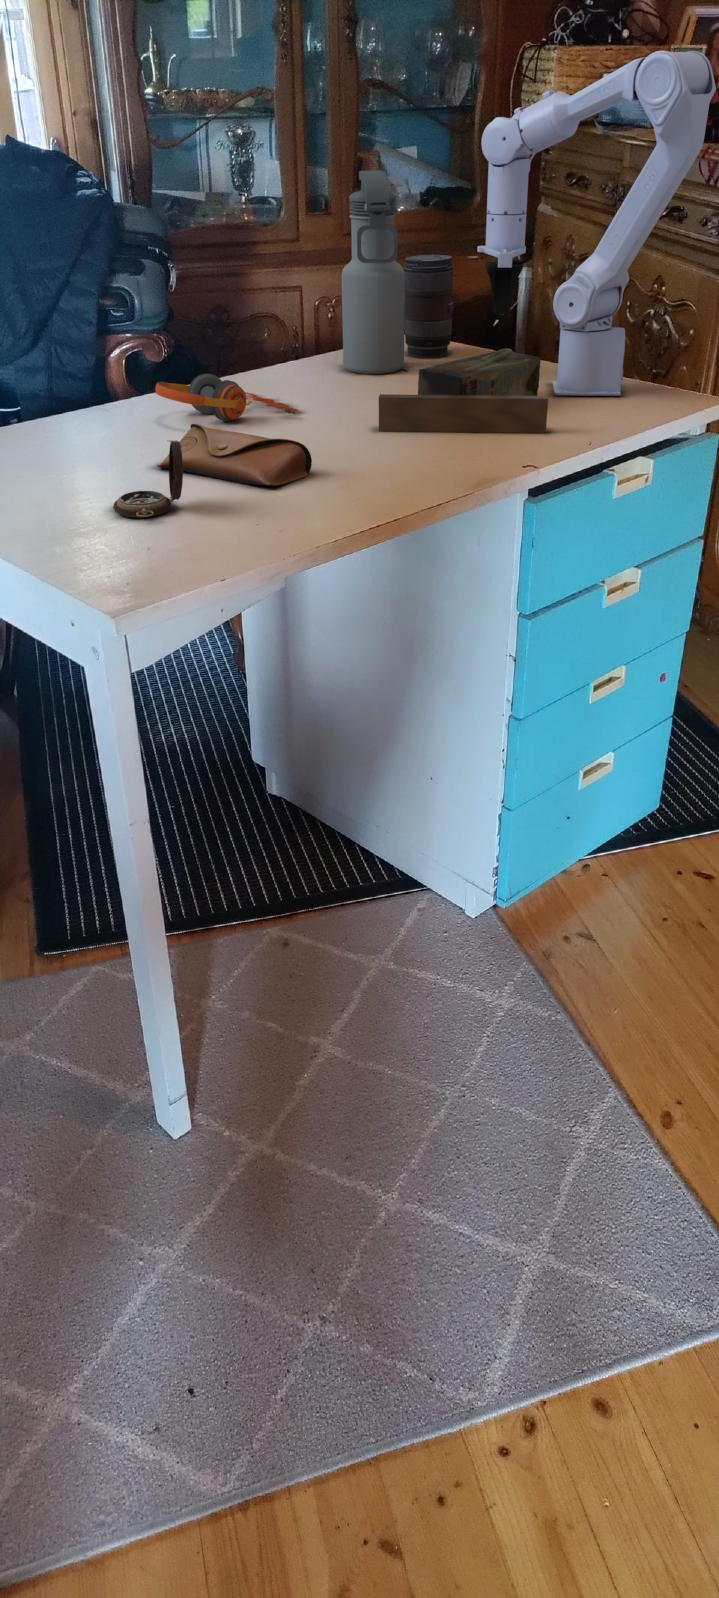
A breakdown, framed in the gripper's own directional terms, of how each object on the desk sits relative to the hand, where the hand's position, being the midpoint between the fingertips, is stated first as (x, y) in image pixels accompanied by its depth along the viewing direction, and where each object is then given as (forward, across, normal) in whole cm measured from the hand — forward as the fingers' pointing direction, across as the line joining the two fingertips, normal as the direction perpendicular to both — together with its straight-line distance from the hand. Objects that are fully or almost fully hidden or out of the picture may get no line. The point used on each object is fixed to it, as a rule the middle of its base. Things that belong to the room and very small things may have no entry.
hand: (501, 313), depth 179 cm
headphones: (+10, +25, -38) cm, 46 cm away
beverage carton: (+10, +19, -3) cm, 21 cm away
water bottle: (+10, -6, -20) cm, 23 cm away
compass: (+10, +68, -38) cm, 78 cm away
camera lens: (+10, -18, -12) cm, 24 cm away
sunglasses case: (+10, +52, -32) cm, 62 cm away
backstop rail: (+9, +32, -5) cm, 33 cm away
